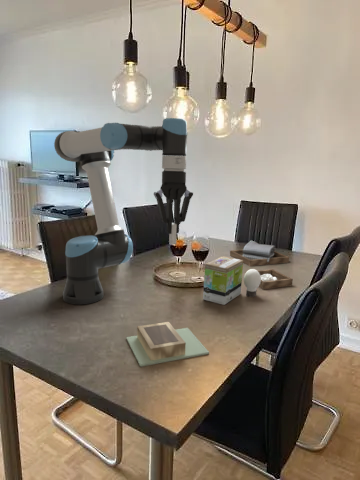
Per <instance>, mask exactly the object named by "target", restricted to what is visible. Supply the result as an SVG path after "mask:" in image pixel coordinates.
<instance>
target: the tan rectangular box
mask: <svg viewBox="0 0 360 480" xmlns="http://www.w3.org/2000/svg"><path fill="white" fill-rule="evenodd" d="M136 336H137V337H138V339H139V341H140V343H141V344H142V346H143V348H144V350H145V351H146V353H147V355H148V357H149V358H150V360H157V359H162V358H168V357H173V356H179V355H184V354H185V347H186V343H185V341H184V340H183V339H182V338H181V336H180V335H179V334H178V333H177V332H176V329H175V328H174V326H173V325H172V324H171V323H170V321H164V322H159V323H153V324H152V323H151V324H144V325H137V328H136Z"/></svg>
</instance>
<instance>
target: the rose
mask: <svg viewBox="0 0 360 480" xmlns="http://www.w3.org/2000/svg"><path fill="white" fill-rule="evenodd" d="M261 280H262V281H273V280H278V279H277V278H276V277H272V275H270V274H263V275H261Z"/></svg>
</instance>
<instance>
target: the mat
mask: <svg viewBox="0 0 360 480" xmlns="http://www.w3.org/2000/svg"><path fill="white" fill-rule="evenodd" d="M175 330H176V332H177V333H178V334H179V335H180V336H181V338H182V339H183V340H184V341H185V343H186V347H185V354H184V355H179V356H173V357H168V358H162V359H157V360H150V358H149V357H148V355H147V353H146V351H145V350H144V348H143V346H142V344H141V343H140V341H139V339H138V337H137V335H132V336H127V337H125V338H126V339H125V340H126V341H127V343H128V345H129V347H130V349H131V351H132V353H133V355H134V357H135V359H136V361H137V362H138V365H139V367H147V366H151V365H155V364H156V365H157V364H163V363H168V362H173V361H178V360H179V361H180V360H183V359H184V360H185V359H188V358H194V357H201V356H205V355H209V354H210V351H209V350H208V349H207V348H206V347H205V346H204V344H202V342H201V341H200V340H199V338H198V337H196V335H195V334H194V333H193V332H192V330H191V329H190V328H189V327H183V328H177V329H175Z"/></svg>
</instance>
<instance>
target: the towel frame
mask: <svg viewBox="0 0 360 480" xmlns="http://www.w3.org/2000/svg"><path fill="white" fill-rule="evenodd" d="M229 256H230V258H234V259H240V260H243V265H244V264H245V265H246V266H249V267H255V266H266V265H275V264H284V263H286V264H287V263H289V262H290V257H289V256H287V255H285V254H283V253H280V252H279V251H276V250H275V251H274V255H273V256H272V258H270V259H269V262H267V259H255V260H250V259H248V258H246V257H244V256H243V249H237V250H236V249H234V250H229Z"/></svg>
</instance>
